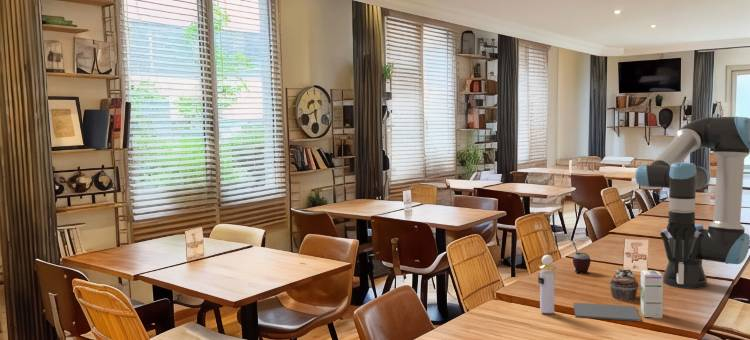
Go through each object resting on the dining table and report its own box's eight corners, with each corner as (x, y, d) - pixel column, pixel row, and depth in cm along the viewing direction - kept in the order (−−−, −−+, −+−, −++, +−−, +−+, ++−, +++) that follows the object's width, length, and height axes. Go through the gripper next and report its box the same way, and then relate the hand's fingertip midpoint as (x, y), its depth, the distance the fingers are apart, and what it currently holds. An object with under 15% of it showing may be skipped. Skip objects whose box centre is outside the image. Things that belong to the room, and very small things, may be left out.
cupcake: (605, 293, 220) (606, 267, 219) (632, 293, 220) (632, 267, 219) (615, 301, 211) (615, 274, 210) (642, 301, 210) (643, 273, 210)
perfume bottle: (552, 310, 203) (552, 252, 201) (558, 315, 197) (559, 256, 195) (535, 310, 202) (535, 253, 201) (541, 316, 196) (542, 257, 195)
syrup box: (663, 318, 192) (664, 274, 191) (643, 317, 193) (644, 274, 192) (658, 313, 198) (659, 270, 196) (639, 312, 199) (640, 269, 198)
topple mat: (634, 308, 203) (634, 306, 203) (641, 321, 190) (641, 319, 190) (573, 304, 209) (573, 302, 209) (575, 317, 195) (575, 315, 195)
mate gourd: (593, 272, 250) (594, 237, 248) (582, 276, 245) (582, 240, 244) (578, 269, 256) (579, 235, 255) (567, 272, 251) (567, 237, 250)
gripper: (701, 209, 192) (699, 280, 194) (657, 208, 196) (655, 278, 198) (707, 213, 185) (705, 287, 187) (661, 212, 188) (660, 284, 190)
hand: (679, 282), depth 192 cm, fingers closed
